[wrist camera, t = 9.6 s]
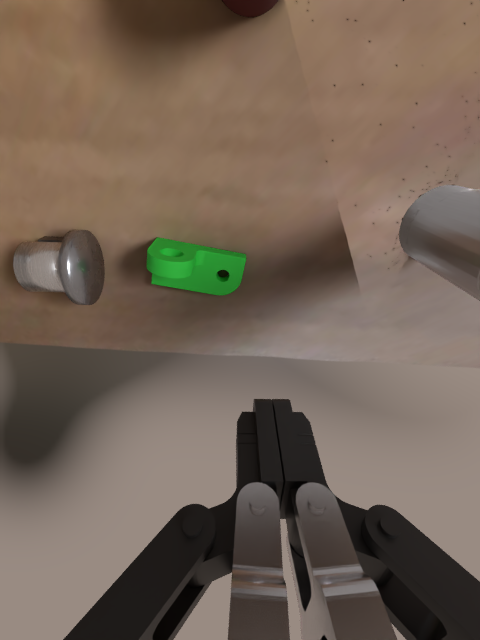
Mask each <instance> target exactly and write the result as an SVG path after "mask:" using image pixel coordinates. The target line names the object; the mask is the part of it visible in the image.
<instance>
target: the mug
mask: <svg viewBox="0 0 480 640" xmlns="http://www.w3.org/2000/svg"><path fill="white" fill-rule="evenodd" d="M222 1H223V2H224V4H225V5H226V6H227V7H228V8H229V9H230V10H232V11H233V12H235V13H236V14H239V15H241V16H245V17H255V16H259V15H262V14H264V13H266V12H267V11H269V10H270V9H271V8H272V7H273V6H274V5H275V4H276V3H277V2H278V0H222Z"/></svg>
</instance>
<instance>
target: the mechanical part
mask: <svg viewBox="0 0 480 640" xmlns="http://www.w3.org/2000/svg"><path fill="white" fill-rule="evenodd" d="M245 262H246V254H242V253H237V252H231V251H226V250H221V249H216V248H211V247H205V246H200V245H195V244H190V243H185V242H179V241H174V240H169V239H164V238H158V237H157V238H156V239H155V241H154V242H153V243H152V244H151V246H150V247H149V248H148V250H147V269H148V270H149V271H150V272H151V273H152V284H156V285H161V286H167V287H173V288H179V289H184V290H190V291H196V292H202V293H208V294H213V295H227V294H230V293H232V292H233V291H235V290H236V289H237V288H238V286H239V285H240V283H241V280H242V276H243V271H244V267H245ZM220 270H226V271H228V273H229V275H228V276H226V277H221V276H219V275H218V273H217V272H218V271H220Z"/></svg>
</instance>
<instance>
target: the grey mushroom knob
mask: <svg viewBox="0 0 480 640" xmlns="http://www.w3.org/2000/svg"><path fill="white" fill-rule="evenodd" d="M13 267H14V273H15V276H16V278H17V280H18V282H19V284H20V285H21V286H22V287H23V288H24V289H25V290H27V291H32V292H65V293H66V295H67V296H68V298H69V299H70V300H71V301H72V302H73V303H75V304H78V305H92V304H94V303H95V302H96V301H97V300H98V299H99V297H100V295H101V292H102V289H103V284H104V260H103V255H102V251H101V248H100V245H99V243H98V241H97V239H96V237H95V236H94V235H93V234H92V233H91V232H90V231H87V230H71V231H69V232H68V233H67V234H66V235H65V237H47V236H45V237H43V238H41V239H39V240H38V242H28V241H27V242H23V243H21V244H20V245H19V246H18V247H17V249H16V251H15V254H14V259H13Z"/></svg>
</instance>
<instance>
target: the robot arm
mask: <svg viewBox="0 0 480 640" xmlns="http://www.w3.org/2000/svg"><path fill="white" fill-rule="evenodd" d="M399 240H400V243H401V246H402V248H403V250H404V252H406V253H407V254H408V255H409V256H410V257H412V258H413V259H415V260H416V261H418V262H420V263H421V264H423V265H424V266H426V267H427V268H429V269H430V270H432V271H433V272H435V273H437V274H438V275H440V276H441V277H443V278H444V279H446V280H448V281H449V282H451V283H452V284H454V285H455V286H457V287H459V288H460V289H462V290H463V291H465V292H466V293H468V294H470V295H471V296H473V297H474V298H476V299H477V300H479V301H480V190H478V189H472V188H467V187H462V186H456V185H445V186H439V187H437V188H434V189H431V190H430V191H428V192H426V193H425V194H423V195H422V196H420V197H419V198H418V199H417V200H416V201H415V202H414V203H413V204H412V205H411V206H410V207H409V209H408V210H407V212H406V214H405V215H404V217H403V220H402V222H401V226H400V231H399ZM236 463H237V464H236V468H237V470H236V471H237V473H236V476H237V488H236V491H235V493H234V494H233V496H232V497H231V498H230V499H229V500H228V501H226V502H225V503H223V504H220V505H218V506H215V507H212V508H210V509H208V508H206V507H205V506H202V505H200V504H190V505H187V506H185V507H183V508H182V509H180V510H179V511H178V512H177V513H176V514H175V515H174V516H173V518H172V519H171V520H170V521H169V522H168V523H167V524H166V525H165V526H164V528H163V529H162V530H161V531H160V532H159V533H158V534H157V536H156V537H155V538H154V539H153V540H152V541H151V542H150V543H149V544H148V546H147V547H146V548H145V549H144V550H143V551H142V552H141V553H140V555H139V556H138V557H137V558H136V559H135V560H134V561H133V562H132V563H131V564H130V566H129V567H128V568H127V569H126V570H125V571H124V572H123V573H122V575H121V576H120V577H119V578H118V579H117V580H116V581H115V582H114V583H113V585H112V586H111V587H110V588H109V589H108V590H107V591H106V592H105V594H104V595H103V596H102V597H101V598H100V599H99V600H98V601H97V603H96V604H95V605H94V606H93V607H92V608H91V609H90V610H89V612H88V613H87V614H86V615H85V616H84V617H83V618H82V620H80V622H79V623H78V624H77V625H76V626H75V627H74V628H73V629H72V631H71V632H70V633H69V634H68V635H67V636H66V637H65V638H64V639H63V640H173V639H174V638H175V636H176V635H177V633H178V632H179V630H180V629H181V627H182V626H183V624H184V623H185V621H186V620H187V618H188V616H189V615H190V614H191V612H192V611H193V609H194V608H195V606H196V605H197V603H198V602H199V600H200V599H201V597H202V596H203V594H204V593H205V591H206V590H207V588H208V587H209V585H210V584H211V582H212V581H214V580H216V579H218V578H220V577H222V576H225V575H227V574H229V573H231V572H232V583H231V598H230V613H229V629H228V640H290V634H289V618H288V601H287V591H286V583H285V581H284V578H283V567H282V566H283V565H282V547H281V528H280V519H286V523H287V531H288V533H287V537H286V542H287V549H288V554H289V558H290V564H291V569H292V574H293V580H294V585H295V590H296V595H297V600H298V605H299V610H300V620H301V637H302V640H397V637H396V635H395V632H394V630H393V627H392V624H393V625H394V626H395V627H396V628H397V630H398V631H399V632H400V633H401V634H402V635H403V636H404V637H405V639H407V640H480V582H479V581H478V580H477V579H476V578H474V577H473V576H472V575H471V574H470V573H469V572H468V571H466V570H465V569H464V568H463V567H462V566H461V565H459V564H458V563H457V562H456V561H455V560H454V559H452V558H451V557H450V556H449V555H448V554H446V553H445V552H444V551H443V550H442V549H441V548H440V547H438V546H437V545H436V544H435V543H434V542H432V541H431V540H430V539H429V538H428V537H426V536H425V535H424V534H423V533H422V532H420V530H418V529H417V528H416V527H415V526H414V525H413V524H411V523H410V522H409V521H408V520H407V519H405V518H404V517H403V516H402V515H401V514H400V513H398V512H397V511H396V510H394V509H392V508H390V507H388V506H385V505H375V506H372V507H371V508H370V509H369V510H365V509H362V508H359V507H356V506H353V505H350V504H348V503H345V502H343V501H341V500H340V499H339V498H337V497H336V496H335V495H334V494H333V493H332V491H331V490H330V489H329V487H328V485H327V483H326V480H325V476H324V473H323V469H322V465H321V462H320V458H319V454H318V451H317V447H316V445H315V440H314V436H313V432H312V429H311V425H310V422H309V421H308V419H307V418H306V417H305V415H304V414H303V413H302V412H292V407H291V403H290V400H289V399H272V400H271V399H254V403H253V412H242V413H241V415H240V417H239V419H238V421H237V439H236ZM391 623H392V624H391Z"/></svg>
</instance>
